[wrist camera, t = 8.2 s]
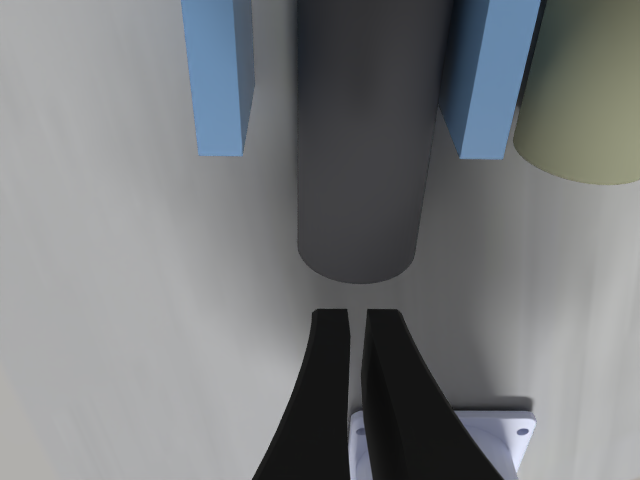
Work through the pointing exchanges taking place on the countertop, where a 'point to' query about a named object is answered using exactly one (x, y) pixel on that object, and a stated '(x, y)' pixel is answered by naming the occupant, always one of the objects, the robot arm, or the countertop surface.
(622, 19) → the olive yellow cylinder
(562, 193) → the countertop surface
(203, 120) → the rectangular blocks
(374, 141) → the dark grey cylinder
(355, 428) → the robot arm
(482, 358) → the countertop surface
